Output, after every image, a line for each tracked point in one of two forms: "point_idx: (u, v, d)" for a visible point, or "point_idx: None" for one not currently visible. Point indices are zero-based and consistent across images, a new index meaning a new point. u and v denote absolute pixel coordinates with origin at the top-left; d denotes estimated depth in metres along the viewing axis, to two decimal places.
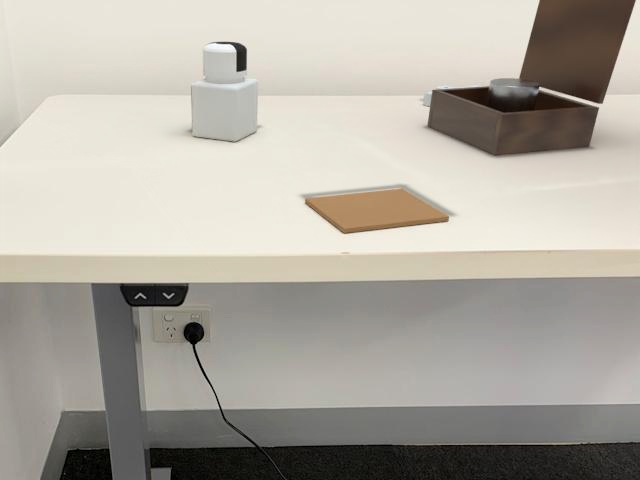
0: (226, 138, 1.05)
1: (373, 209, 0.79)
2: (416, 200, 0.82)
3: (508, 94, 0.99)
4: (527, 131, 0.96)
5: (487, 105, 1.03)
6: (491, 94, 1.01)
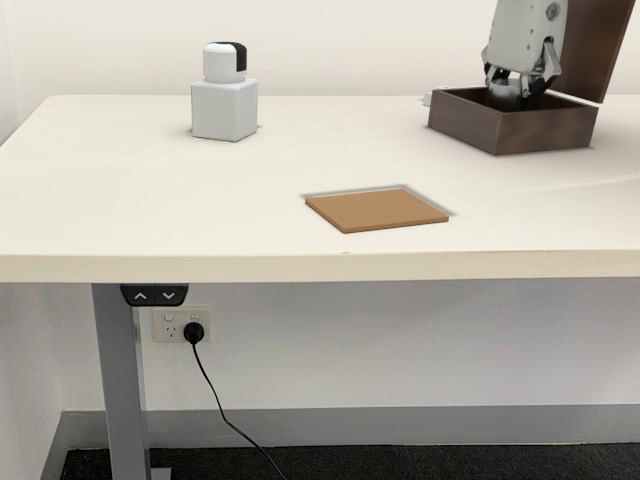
0: (226, 138, 1.05)
1: (373, 209, 0.79)
2: (416, 200, 0.82)
3: (508, 94, 0.99)
4: (527, 131, 0.96)
5: (487, 105, 1.03)
6: (491, 94, 1.01)
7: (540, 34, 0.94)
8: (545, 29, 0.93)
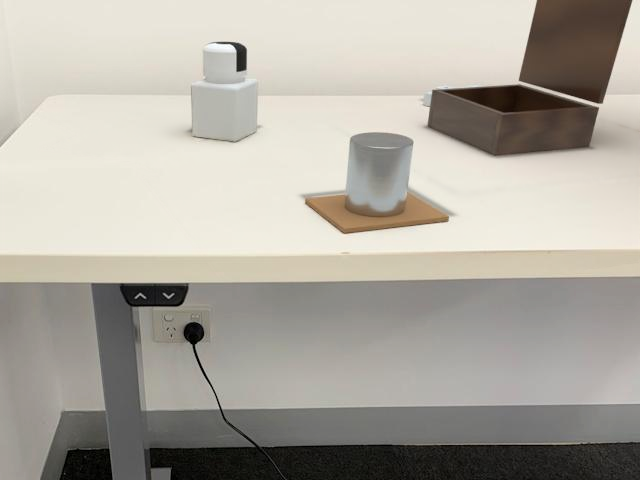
0: (226, 138, 1.05)
1: None
2: (416, 200, 0.82)
3: (369, 157, 0.75)
4: (527, 131, 0.96)
5: (348, 168, 0.78)
6: (350, 155, 0.77)
7: None
8: None
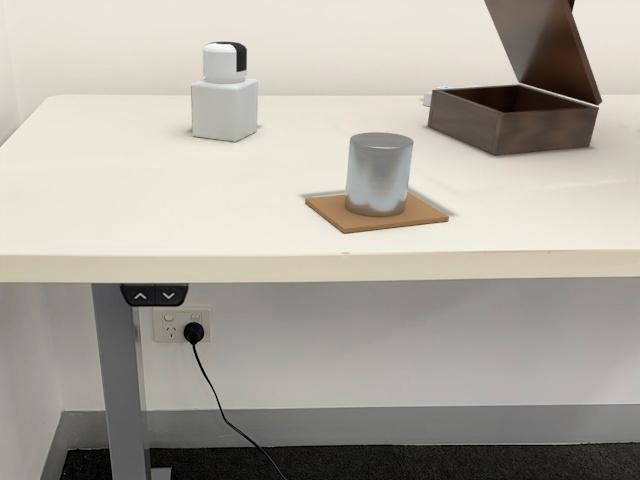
0: (226, 138, 1.05)
1: None
2: (416, 200, 0.82)
3: (369, 157, 0.75)
4: (527, 131, 0.96)
5: (348, 168, 0.78)
6: (350, 155, 0.77)
7: None
8: None
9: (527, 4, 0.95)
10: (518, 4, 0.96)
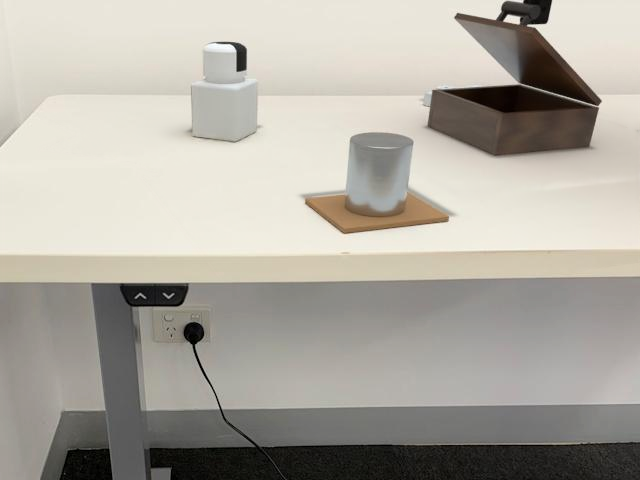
0: (226, 138, 1.05)
1: None
2: (416, 200, 0.82)
3: (369, 157, 0.75)
4: (527, 131, 0.96)
5: (348, 168, 0.78)
6: (350, 155, 0.77)
7: None
8: None
9: (502, 33, 0.96)
10: (494, 32, 0.97)
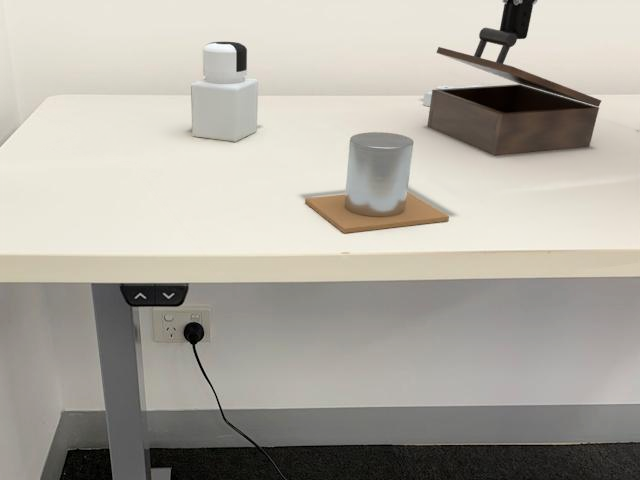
0: (226, 138, 1.05)
1: None
2: (416, 200, 0.82)
3: (369, 157, 0.75)
4: (527, 131, 0.96)
5: (348, 168, 0.78)
6: (350, 155, 0.77)
7: None
8: None
9: (484, 67, 0.97)
10: (477, 65, 0.99)
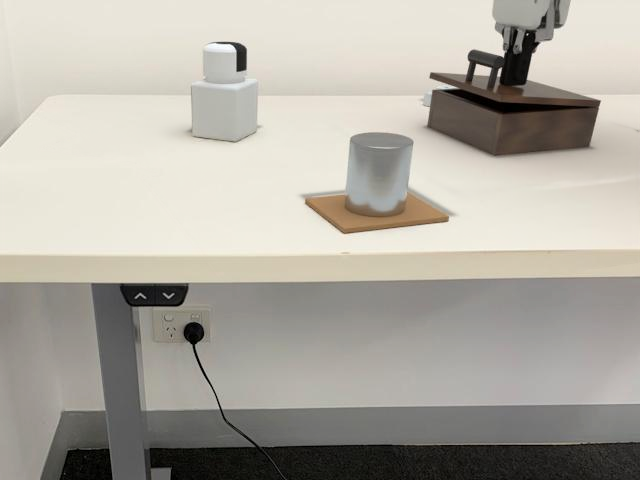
0: (226, 138, 1.05)
1: None
2: (416, 200, 0.82)
3: (369, 157, 0.75)
4: (527, 131, 0.96)
5: (348, 168, 0.78)
6: (350, 155, 0.77)
7: None
8: None
9: None
10: None
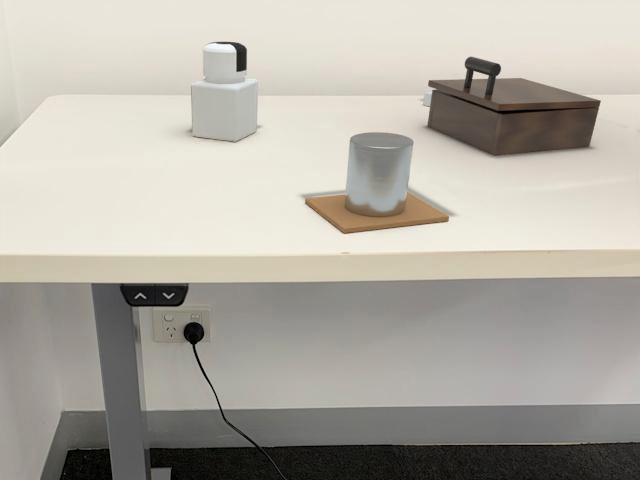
0: (226, 138, 1.05)
1: None
2: (416, 200, 0.82)
3: (369, 157, 0.75)
4: (527, 131, 0.96)
5: (348, 168, 0.78)
6: (350, 155, 0.77)
7: None
8: None
9: None
10: None
